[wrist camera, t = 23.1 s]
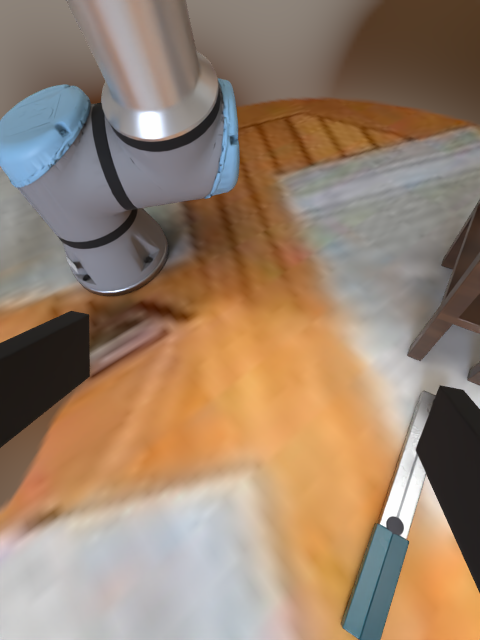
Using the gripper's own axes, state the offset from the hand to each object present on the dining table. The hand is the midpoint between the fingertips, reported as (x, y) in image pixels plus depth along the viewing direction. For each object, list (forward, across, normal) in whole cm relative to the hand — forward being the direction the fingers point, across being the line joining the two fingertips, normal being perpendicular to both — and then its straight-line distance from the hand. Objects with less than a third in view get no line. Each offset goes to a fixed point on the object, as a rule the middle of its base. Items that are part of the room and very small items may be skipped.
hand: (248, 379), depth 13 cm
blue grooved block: (+18, +16, -20) cm, 32 cm away
